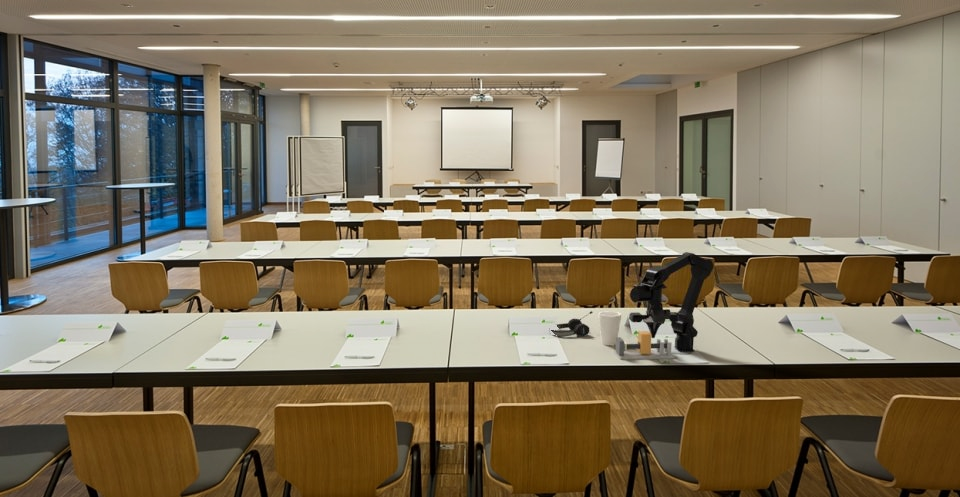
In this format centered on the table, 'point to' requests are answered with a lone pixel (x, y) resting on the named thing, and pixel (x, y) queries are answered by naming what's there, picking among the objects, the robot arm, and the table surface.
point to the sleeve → (644, 342)
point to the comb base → (634, 354)
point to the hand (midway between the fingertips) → (653, 338)
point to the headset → (573, 328)
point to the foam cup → (609, 326)
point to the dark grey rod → (637, 346)
